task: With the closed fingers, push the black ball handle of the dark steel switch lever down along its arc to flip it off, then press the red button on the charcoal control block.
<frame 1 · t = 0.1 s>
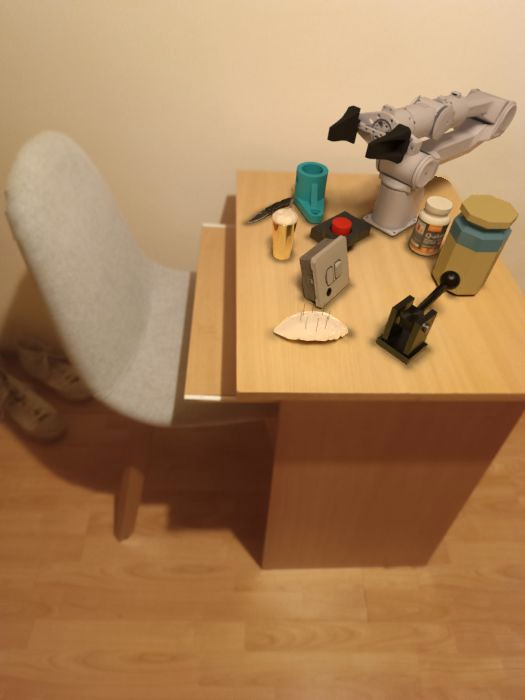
hand: (348, 142, 72), 22 cm above the table, tool horizontal, fingers open, 7 cm apart
pincushion: (310, 334, 74), on the table
control block: (339, 236, 92), on the table
bracket 2: (310, 208, 99), on the table
electrical switch: (321, 291, 81), on the table
pill bottle: (422, 249, 91), on the table
bracket: (400, 345, 73), on the table
jar: (455, 282, 85), on the table
lever: (431, 299, 70), point 7 cm above the table, hinge at 18.0°
folding knife: (274, 213, 96), on the table
button: (341, 226, 87), point 4 cm above the table, slide at 0.1 cm
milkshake: (282, 254, 88), on the table
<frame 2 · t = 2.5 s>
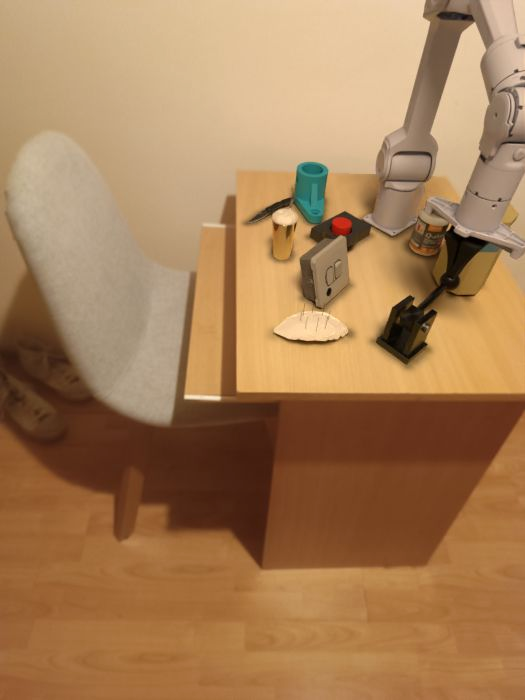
hand: (452, 273, 70), 10 cm above the table, tool pointing down, fingers closed, pressing on lever
lever: (431, 299, 70), point 7 cm above the table, hinge at 16.6°, touching gripper
everything else where it was.
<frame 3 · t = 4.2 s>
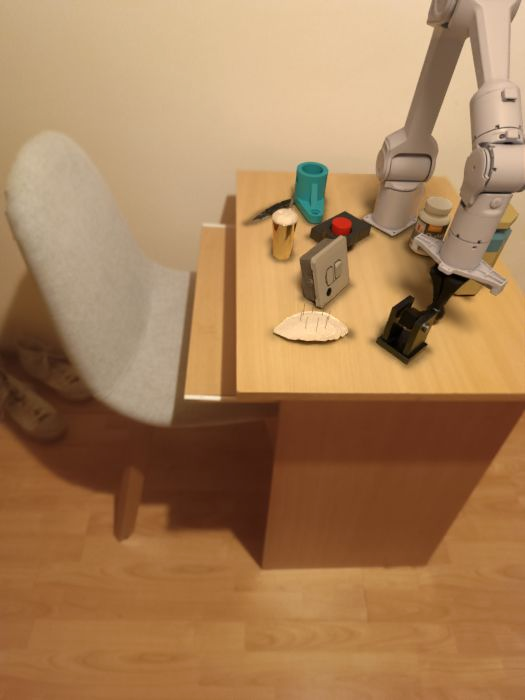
hand: (438, 304, 74), 4 cm above the table, tool pointing down, fingers closed, pressing on lever
bracket 2: (310, 208, 99), on the table, touching folding knife
lever: (424, 314, 72), point 4 cm above the table, hinge at -23.2°, touching gripper
folding knife: (274, 215, 97), on the table, touching bracket 2
everything else where it was.
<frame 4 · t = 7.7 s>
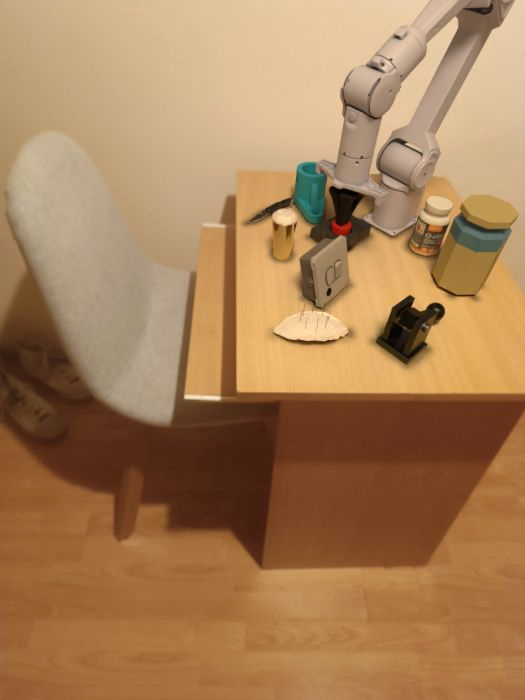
hand: (341, 223, 86), 5 cm above the table, tool pointing down, fingers closed, pressing on button
bracket 2: (310, 208, 99), on the table
lever: (424, 314, 72), point 4 cm above the table, hinge at -23.3°
folding knife: (274, 213, 96), on the table
button: (341, 227, 87), point 4 cm above the table, slide at 0.0 cm, touching gripper
everything else where it was.
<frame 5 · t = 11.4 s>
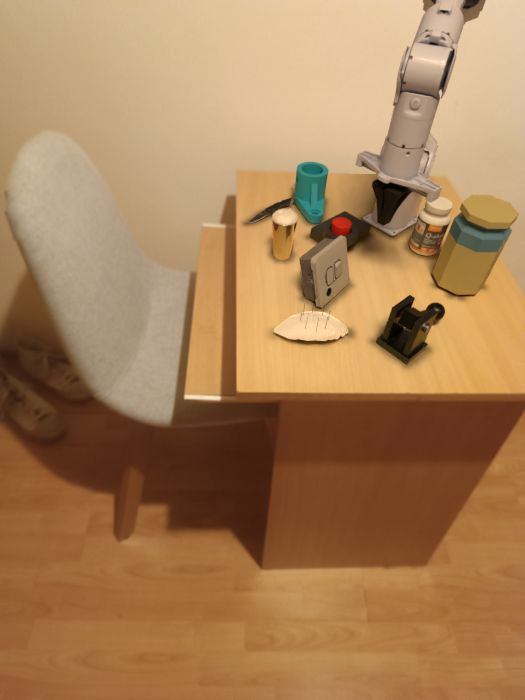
hand: (383, 222, 78), 10 cm above the table, tool pointing down, fingers closed
button: (341, 226, 87), point 4 cm above the table, slide at 0.1 cm
everything else where it was.
at the end: lever at -23° (first picture: +18°); button pushed in 1.2 cm at the most during the clip, back to where it started at the end; button slide at 0.1 cm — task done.
